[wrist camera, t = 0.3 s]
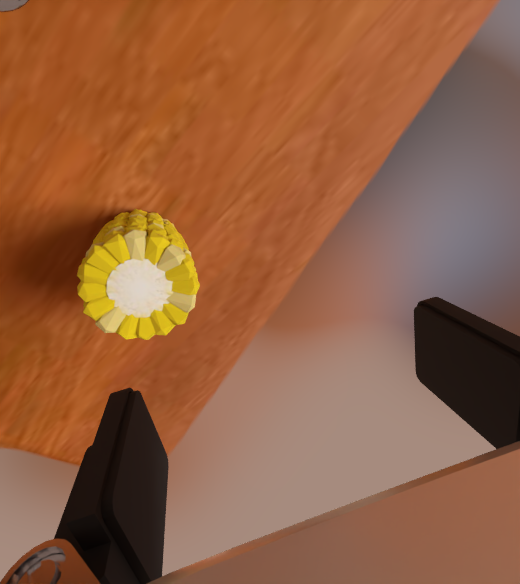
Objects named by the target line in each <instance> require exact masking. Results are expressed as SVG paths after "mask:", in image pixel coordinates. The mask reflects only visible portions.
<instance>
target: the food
mask: <svg viewBox="0 0 520 584" xmlns="http://www.w3.org/2000/svg"><path fill="white" fill-rule="evenodd" d="M77 276H78V277H79V279H80V280H81V281H80V283H79V285H78V286H77V289H78V295H79V296H80V297H81V298H82V299H83V301H84V305H83V306H84V311H83V313H85V314H86V315H88V316H89V317H91V318H92V319H94V320H95V321H97V322H96V323H95V324H96V325H97V326H98V327H99V328H100V329H101V330H102V331H103V332H105V333H113V332H116V333H117V334H119V335H120V336H122V337H123V338H125V339H132V338H141V339H145V340H149V339H150V338H151V337H152V336H154V335H155V334H156V335H167V334H168V333H169V332H170V331H171V330H172V328H173V327H174V326H175V325H178V324H185V321H186V318H187V316H188V313H189V311H190V310H192V309H193V308H194V307H195V300H196V293H197V291H198V289H199V286H200V284H199V282H198V278H197V273H196V268H195V267H194V261H193V260H192V258H191V252H190V251H189V249H188V247H187V244H186V243H185V240H184V239H183V237H182V235H181V234H180V233H178V231H177V230H176V228H175V227H174V225H173V224H171V223H170V222H169V221H168V220H167V219H163V218H161V216H160V215H159V214H158V213H155V212H152V213H148V214H147V212H146V211H142V210H137V209H135V210H134V211H132V212H131V213H128V212H125V213H120V214H119V215H117V216H116V217H114V221H112V220H111V221H110V222H108V223H107V224H105V225H104V227H103V228H102V229H101V231H100V232H99V233H98V234H97V236H96V237H95V239H93V244H92V245H91V247H90V249H89V250H88V251H87V252H86V256H85V258H83V260H82V263H81V265H80V266H79V268H78V273H77Z"/></svg>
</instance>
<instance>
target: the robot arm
mask: <svg viewBox="0 0 520 584" xmlns="http://www.w3.org/2000/svg"><path fill="white" fill-rule="evenodd" d="M414 330H415V362H416V374H417V377H418V379H419V380H420V382H421V383H422V384H424V385H425V386H426V387H427V388H428V389H429V390H430V391H432V392H433V393H434V394H435V395H436V396H437V397H438V398H439V399H441V400H442V401H443V402H444V403H445V404H446V405H447V406H449V407H450V408H451V409H452V410H453V411H454V412H455V413H456V414H458V415H459V416H460V417H461V418H462V419H463V420H464V421H466V422H467V423H468V424H469V425H470V426H471V427H472V428H474V429H475V430H476V431H477V432H478V433H479V434H481V436H483V437H484V438H485V439H486V440H487V441H489V443H491V444H492V445H493V446H494V447H495V448H496V450H494V451H491V452H488V453H485V454H482V455H480V456H477V457H474V458H471V459H469V460H466V461H463V462H460V463H458V464H455V465H452V466H450V467H447V468H444V469H441V470H439V471H436V472H433V473H431V474H428V475H425V476H423V477H420V478H417V479H414V480H412V481H409V482H406V483H404V484H401V485H398V486H395V487H393V488H390V489H388V490H385V491H382V492H379V493H377V494H374V495H371V496H369V497H366V498H364V499H361V500H358V501H355V502H353V503H350V504H347V505H345V506H342V507H339V508H337V509H334V510H331V511H329V512H326V513H323V514H321V515H318V516H315V517H313V518H310V519H307V520H305V521H302V522H300V523H297V524H294V525H292V526H289V527H286V528H284V529H281V530H279V531H276V532H273V533H271V534H268V535H265V536H263V537H260V538H257V539H255V540H252V541H249V542H247V543H244V544H242V545H239V546H236V547H234V548H231V549H229V550H226V551H224V552H221V553H219V554H216V555H214V556H211V557H209V558H206V559H204V560H201V561H199V562H196V563H194V564H191V565H189V566H186V567H184V568H181V569H179V570H176V571H174V572H171V573H169V574H167V575H165V576H162V565H163V548H164V547H163V546H164V531H165V514H166V497H167V480H168V458H167V454H166V452H165V449H164V447H163V444H162V442H161V440H160V437H159V435H158V433H157V430H156V428H155V426H154V423H153V421H152V419H151V416H150V414H149V412H148V409H147V407H146V405H145V402H144V400H143V397H142V395H141V393H140V392H139V391H138V390H137V391H133V390H132V388H127V389H124V390H121V391H117V392H114V393H111V394H110V396H109V399H108V402H107V405H106V408H105V411H104V414H103V416H102V419H101V422H100V425H99V428H98V431H97V434H96V437H95V440H94V442H93V445H92V446H90V447H89V448H88V449H87V450H86V452H85V455H84V458H83V460H82V463H81V466H80V469H79V472H78V474H77V477H76V480H75V482H74V485H73V488H72V491H71V493H70V496H69V499H68V502H67V504H66V507H65V510H64V513H63V516H62V518H61V521H60V524H59V527H58V529H57V532H56V535H55V538H54V539H53V540H49V541H46V542H44V543H42V544H40V545H38V546H36V547H34V548H33V549H31V550H30V551H29V552H28V553H26V554H25V555H24V556H22V557H21V558H20V559H19V560H18V561H17V562H16V563H15V564H14V565H13V566H12V567H11V568H10V570H9V571H8V572H7V574H6V575H5V576H4V578H3V579H2V580H1V582H0V584H520V337H519V336H517V335H515V334H513V333H511V332H509V331H507V330H505V329H503V328H501V327H499V326H496V325H495V324H492V323H490V322H488V321H486V320H484V319H482V318H480V317H478V316H476V315H474V314H472V313H470V312H468V311H466V310H464V309H461V308H459V307H457V306H455V305H453V304H451V303H449V302H447V301H445V300H443V299H441V298H438V297H434V298H430V299H426V300H423V301H420V302H419V303H418V305H417V307H416V308H415V309H414Z"/></svg>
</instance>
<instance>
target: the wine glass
mask: <svg viewBox="0 0 520 584" xmlns="http://www.w3.org/2000/svg"><path fill="white" fill-rule="evenodd" d="M28 1H29V0H0V11H1V12H6V11H13V10H16V9H19V8H20V7H22V6H23V5H25V4H26V3H27V2H28Z"/></svg>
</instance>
